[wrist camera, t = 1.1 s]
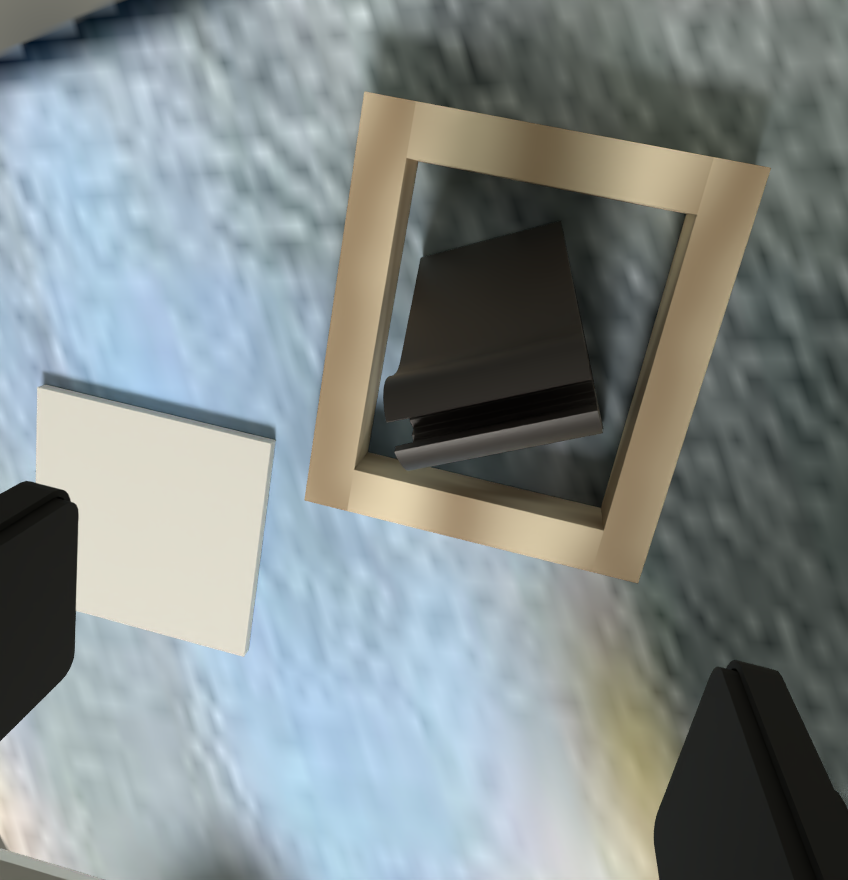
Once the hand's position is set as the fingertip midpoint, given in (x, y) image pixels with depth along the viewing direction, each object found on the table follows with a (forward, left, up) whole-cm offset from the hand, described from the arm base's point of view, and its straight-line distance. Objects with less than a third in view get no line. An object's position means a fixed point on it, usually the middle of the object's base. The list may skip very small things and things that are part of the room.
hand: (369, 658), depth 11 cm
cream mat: (+15, +12, -23) cm, 31 cm away
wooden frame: (-1, -1, -23) cm, 23 cm away
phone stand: (-1, -1, -24) cm, 24 cm away
